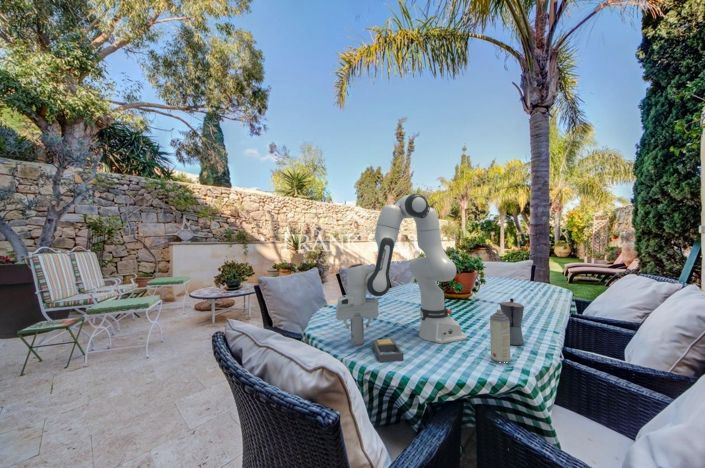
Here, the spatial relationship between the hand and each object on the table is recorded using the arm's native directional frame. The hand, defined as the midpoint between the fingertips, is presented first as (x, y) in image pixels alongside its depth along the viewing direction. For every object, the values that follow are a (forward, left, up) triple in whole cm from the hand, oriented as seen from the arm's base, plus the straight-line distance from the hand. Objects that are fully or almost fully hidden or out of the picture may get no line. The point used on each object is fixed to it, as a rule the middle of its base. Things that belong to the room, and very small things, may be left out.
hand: (357, 327), depth 129 cm
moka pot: (-70, +12, -8) cm, 71 cm away
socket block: (-11, +12, -8) cm, 18 cm away
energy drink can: (0, 0, -8) cm, 8 cm away
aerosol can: (-54, +26, -8) cm, 60 cm away
